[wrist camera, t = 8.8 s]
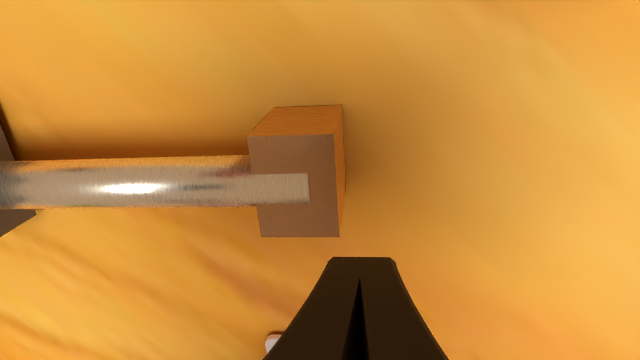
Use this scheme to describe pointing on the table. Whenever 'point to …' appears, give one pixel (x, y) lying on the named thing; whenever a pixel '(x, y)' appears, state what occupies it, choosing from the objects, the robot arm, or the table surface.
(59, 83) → the table surface
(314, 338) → the robot arm
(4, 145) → the collar
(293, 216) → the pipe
